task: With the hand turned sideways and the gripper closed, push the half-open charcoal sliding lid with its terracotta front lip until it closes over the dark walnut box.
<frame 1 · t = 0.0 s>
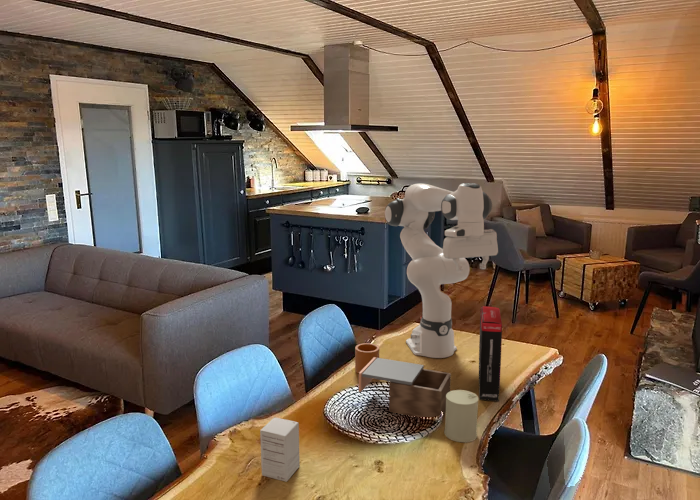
hand: (471, 270, 190), 39 cm above the table, tool pointing down, fingers open, 8 cm apart
paper stack: (394, 383, 191), on the table
supplement box: (280, 471, 139), on the table
walnut box: (420, 407, 173), on the table
mug: (369, 369, 202), on the table
lid: (391, 378, 175), point 8 cm above the table, slide at 9.0 cm
graphics card box: (487, 391, 185), on the table
can: (460, 434, 157), on the table
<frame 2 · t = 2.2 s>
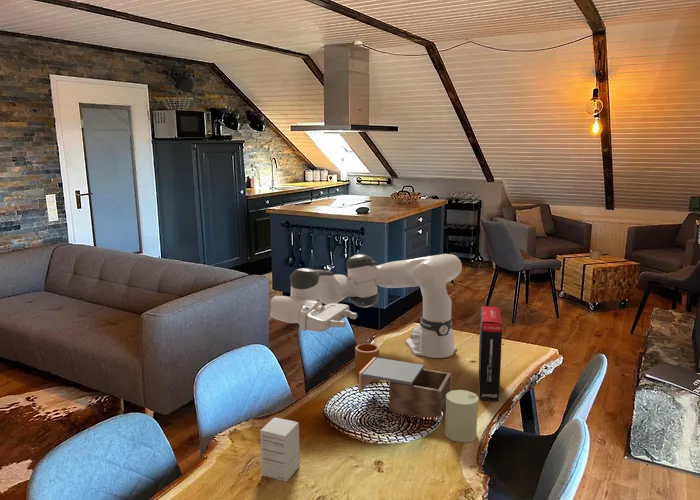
hand: (350, 320, 177), 25 cm above the table, tool horizontal, fingers open, 8 cm apart
nothing on the table moved.
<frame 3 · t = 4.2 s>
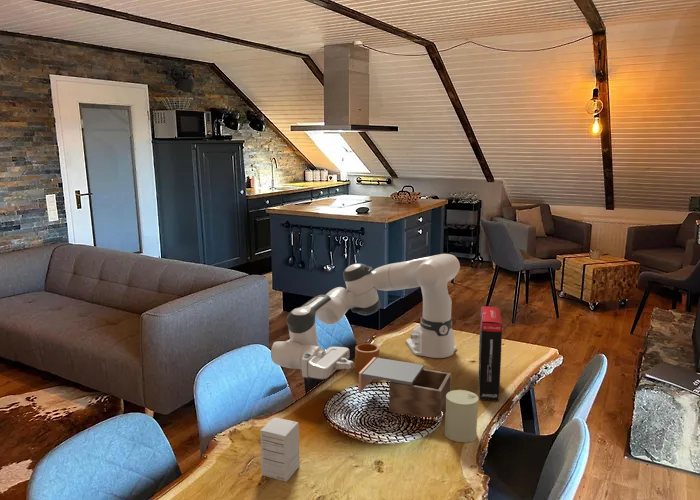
hand: (351, 365, 179), 10 cm above the table, tool horizontal, fingers closed
nothing on the table moved.
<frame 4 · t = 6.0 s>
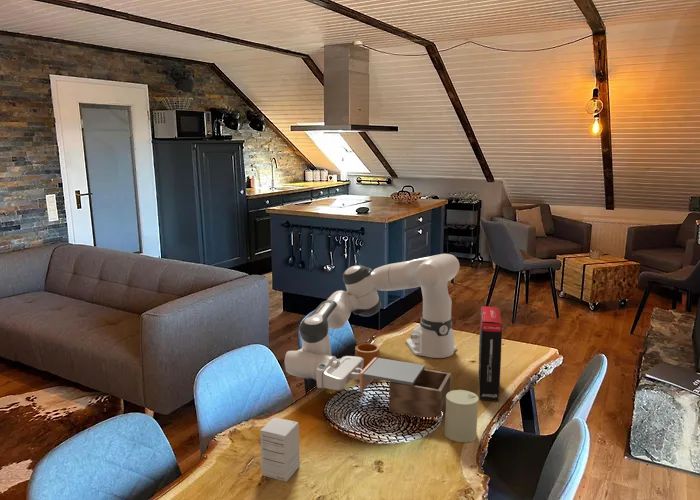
hand: (366, 375, 177), 8 cm above the table, tool horizontal, fingers closed, pressing on lid
lid: (392, 378, 175), point 8 cm above the table, slide at 8.7 cm, touching gripper
everything else where it was.
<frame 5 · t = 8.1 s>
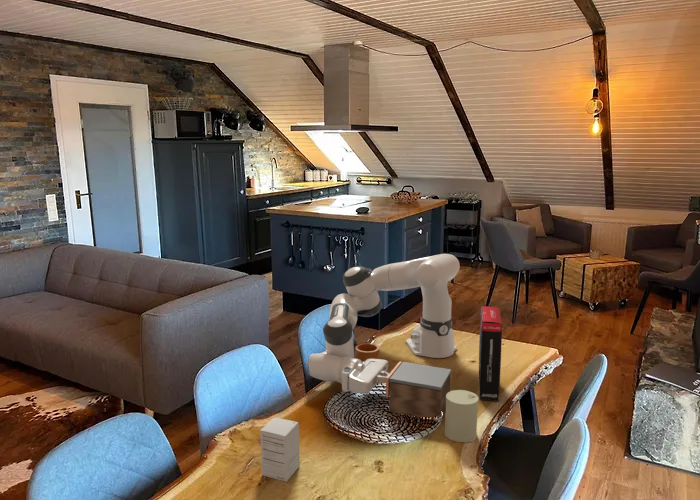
hand: (392, 378, 175), 8 cm above the table, tool horizontal, fingers closed, pressing on lid
lid: (418, 382, 171), point 8 cm above the table, slide at 0.0 cm, touching gripper
everything else where it was.
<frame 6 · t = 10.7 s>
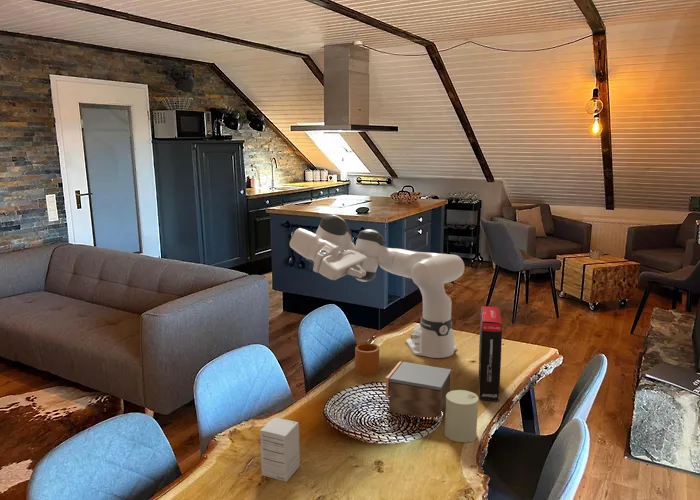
hand: (363, 275, 177), 40 cm above the table, tool tilted 70°, fingers closed
lid: (418, 382, 171), point 8 cm above the table, slide at 0.0 cm
everything else where it was.
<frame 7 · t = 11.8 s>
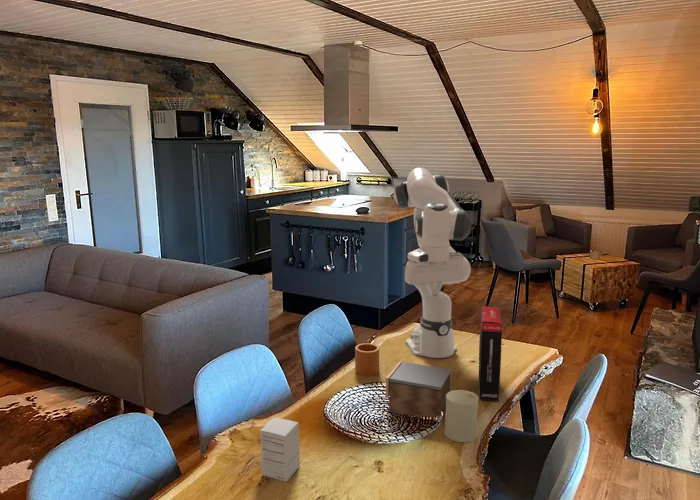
hand: (434, 295, 178), 33 cm above the table, tool pointing down, fingers closed
nothing on the table moved.
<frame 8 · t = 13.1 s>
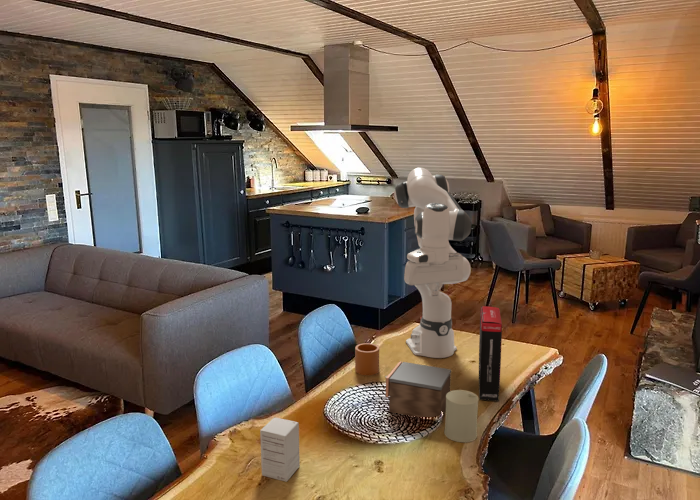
hand: (433, 295, 178), 33 cm above the table, tool pointing down, fingers closed
nothing on the table moved.
at the end: lid slide at 0.0 cm; can moved 0.2 cm from its start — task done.
